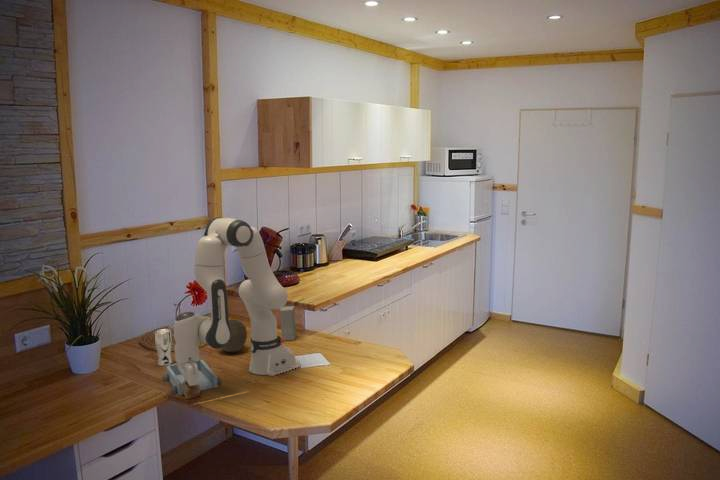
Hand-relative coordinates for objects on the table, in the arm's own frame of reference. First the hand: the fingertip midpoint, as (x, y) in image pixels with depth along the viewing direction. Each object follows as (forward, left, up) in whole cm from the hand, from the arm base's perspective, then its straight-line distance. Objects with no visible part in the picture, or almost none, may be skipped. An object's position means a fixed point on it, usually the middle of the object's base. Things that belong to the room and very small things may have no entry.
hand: (188, 388), depth 223 cm
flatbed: (-3, -10, -3) cm, 10 cm away
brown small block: (0, +4, -1) cm, 4 cm away
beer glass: (+1, -40, -3) cm, 40 cm away
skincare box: (-60, -42, -3) cm, 73 cm away
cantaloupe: (-30, -39, -3) cm, 49 cm away
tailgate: (-3, +2, -2) cm, 5 cm away
